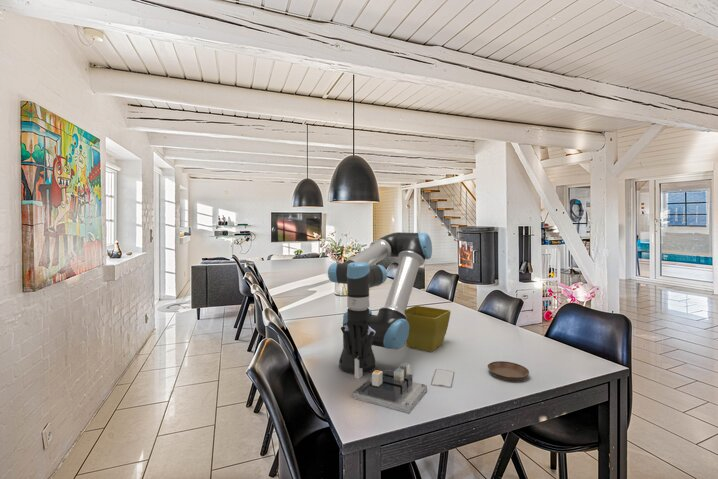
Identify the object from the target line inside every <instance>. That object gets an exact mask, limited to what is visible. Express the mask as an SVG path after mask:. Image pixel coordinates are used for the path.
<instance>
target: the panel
mask: <svg viewBox="0 0 718 479" xmlns="http://www.w3.org/2000/svg"><path fill="white" fill-rule="evenodd" d="M399 366H400V367H398V368H395V370H392V369H385V370H384V371H382V378H383V383H382V384H381V385H380V386H379V387H378V386H374V385H372V376H371V377H370V378H369V379H368V380H367V381H365V382H364V383H362V385H360V386H359V387H358V388H357V389H356V390H354V391H352V393H353V394H352V398H353V399H355V400H359V401H362V402H366V403H370V404H374V405H377V406H381V407H385V408H389V409H391V410H396V411H399V412H403V413H407V414H410V413H411V411H412V410H413V409H414V408H415V407H416V405H417V404H418V402H420V400H422V398H423V397H424V395H425V394H426V393H427V391H428V385H427V384H423V383H419V382H414V381H413V374H411V364H410V363H407V362H402V363H401V364H400V365H399Z"/></svg>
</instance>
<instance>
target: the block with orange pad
mask: <svg viewBox="0 0 718 479" xmlns="http://www.w3.org/2000/svg"><path fill="white" fill-rule="evenodd" d="M382 373H383V371H381V370H377V369H374V370H373V372H372V373H371V377H372V385H374V386H378V387H379V386H380V385H381V384H382V383H383V378H382Z"/></svg>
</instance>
